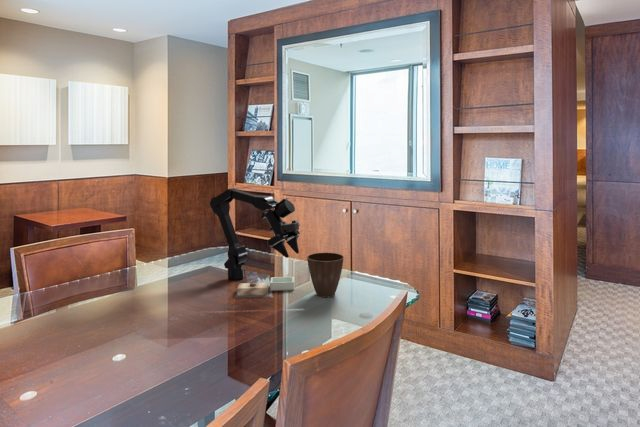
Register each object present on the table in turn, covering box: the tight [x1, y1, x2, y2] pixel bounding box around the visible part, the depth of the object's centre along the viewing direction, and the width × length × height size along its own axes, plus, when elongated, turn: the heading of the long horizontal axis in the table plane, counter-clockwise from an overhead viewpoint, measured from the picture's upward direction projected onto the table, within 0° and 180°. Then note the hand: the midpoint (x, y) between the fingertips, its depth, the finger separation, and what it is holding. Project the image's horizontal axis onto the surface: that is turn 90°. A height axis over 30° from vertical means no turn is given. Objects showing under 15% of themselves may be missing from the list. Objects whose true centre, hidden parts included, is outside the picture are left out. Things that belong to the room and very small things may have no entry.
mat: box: [233, 287, 271, 299], centre depth 197 cm, size 14×12×1 cm
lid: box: [236, 282, 269, 296], centre depth 197 cm, size 12×7×4 cm, turn 93°
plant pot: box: [306, 252, 344, 298], centre depth 195 cm, size 15×15×16 cm
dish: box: [269, 276, 295, 292], centre depth 204 cm, size 10×8×4 cm
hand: (293, 255), depth 201 cm, fingers open, 9 cm apart
